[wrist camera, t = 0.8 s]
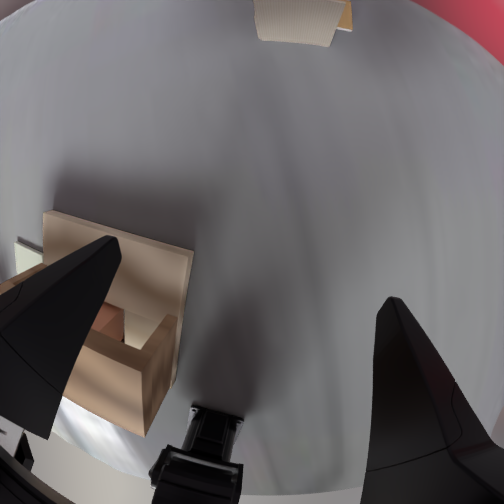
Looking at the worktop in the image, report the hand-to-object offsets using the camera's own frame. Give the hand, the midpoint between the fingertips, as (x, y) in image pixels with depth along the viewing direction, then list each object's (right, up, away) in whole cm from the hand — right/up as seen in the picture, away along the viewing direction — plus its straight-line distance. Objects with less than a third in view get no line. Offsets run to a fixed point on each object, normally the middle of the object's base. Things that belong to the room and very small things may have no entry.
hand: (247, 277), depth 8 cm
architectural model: (+4, +19, +9) cm, 21 cm away
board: (-15, -4, +17) cm, 23 cm away
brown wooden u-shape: (-15, -7, +16) cm, 23 cm away
